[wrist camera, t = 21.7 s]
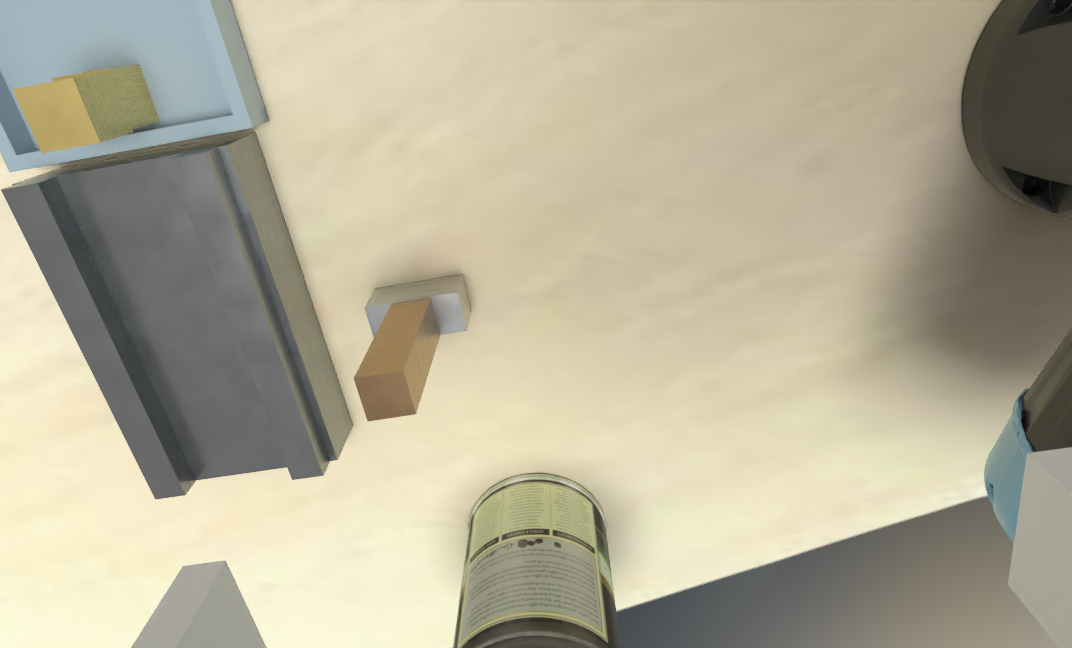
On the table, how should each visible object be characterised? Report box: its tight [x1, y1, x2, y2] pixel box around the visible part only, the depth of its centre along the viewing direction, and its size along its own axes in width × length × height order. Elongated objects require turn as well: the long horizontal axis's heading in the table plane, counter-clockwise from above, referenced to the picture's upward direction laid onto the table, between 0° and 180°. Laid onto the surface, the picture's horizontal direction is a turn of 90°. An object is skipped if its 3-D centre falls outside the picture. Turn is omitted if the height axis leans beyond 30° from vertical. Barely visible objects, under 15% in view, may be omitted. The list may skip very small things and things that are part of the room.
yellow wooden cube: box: [52, 64, 160, 129], centre depth 37 cm, size 3×3×3 cm
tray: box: [0, 0, 269, 172], centre depth 37 cm, size 14×11×2 cm
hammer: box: [354, 274, 471, 421], centre depth 39 cm, size 6×2×12 cm, turn 100°
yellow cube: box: [12, 72, 133, 153], centre depth 34 cm, size 3×3×3 cm
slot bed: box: [1, 133, 353, 499], centre depth 42 cm, size 12×20×6 cm, turn 10°
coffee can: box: [453, 474, 621, 648], centre depth 45 cm, size 10×10×14 cm
